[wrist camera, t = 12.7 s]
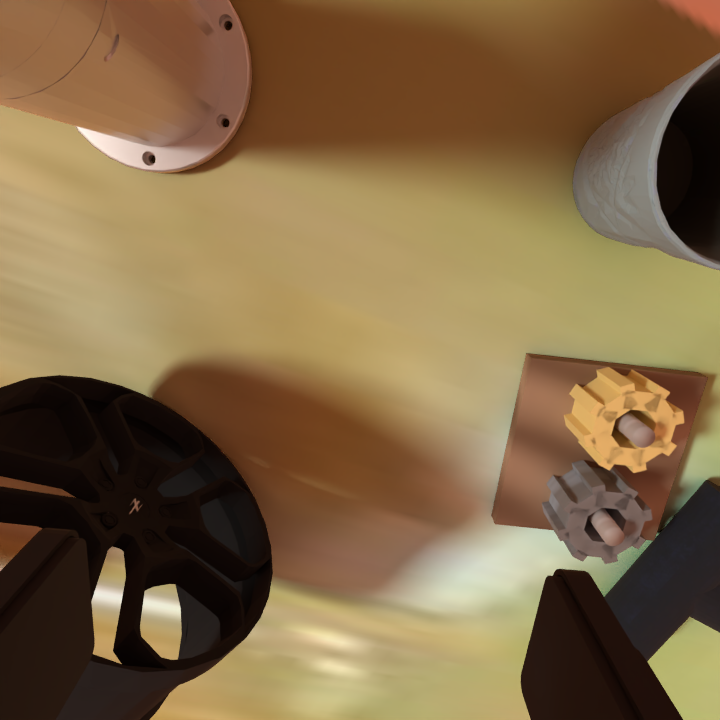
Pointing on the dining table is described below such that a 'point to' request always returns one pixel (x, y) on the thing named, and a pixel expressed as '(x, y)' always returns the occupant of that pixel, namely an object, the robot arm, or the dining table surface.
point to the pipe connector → (673, 576)
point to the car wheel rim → (138, 526)
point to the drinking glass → (659, 171)
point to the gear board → (586, 461)
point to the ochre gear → (612, 400)
